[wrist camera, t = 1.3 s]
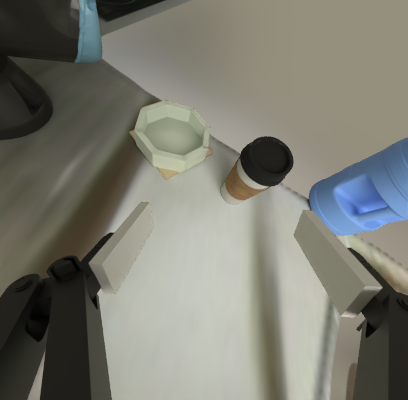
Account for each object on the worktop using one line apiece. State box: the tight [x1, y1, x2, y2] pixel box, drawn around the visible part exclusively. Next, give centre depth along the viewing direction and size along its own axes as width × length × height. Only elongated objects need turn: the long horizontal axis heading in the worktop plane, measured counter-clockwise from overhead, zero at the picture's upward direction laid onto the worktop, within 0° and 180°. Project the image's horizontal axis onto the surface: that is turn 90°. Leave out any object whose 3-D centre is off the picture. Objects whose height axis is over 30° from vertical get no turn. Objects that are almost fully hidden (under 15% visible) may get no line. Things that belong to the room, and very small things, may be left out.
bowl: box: [129, 100, 213, 180], centre depth 37 cm, size 15×15×5 cm
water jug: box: [309, 138, 408, 235], centre depth 32 cm, size 16×16×28 cm
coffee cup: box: [221, 136, 293, 205], centre depth 31 cm, size 8×8×15 cm
